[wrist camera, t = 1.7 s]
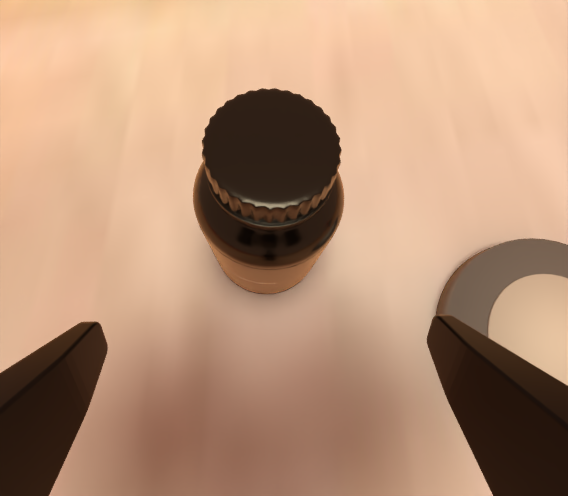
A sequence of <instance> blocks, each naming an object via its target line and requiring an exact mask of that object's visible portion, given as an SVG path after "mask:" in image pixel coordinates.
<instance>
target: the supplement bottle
mask: <svg viewBox="0 0 568 496" xmlns="http://www.w3.org/2000/svg"><path fill="white" fill-rule="evenodd" d="M339 142H340V138H339V136H338V135H337V133H336V127H335V126H334V125H333V124H332V123H331V120H330V117H329V116H328V115H326V114H325V113H324V112H323V110H322V108H321V107H319V106H316V105H315V104H314V103H313V102H312V101H311V100H309V99H305V98H304V97H303V96H301V95H300V94H293V93H291V92H290V91H286V90H285V91H281V90H278V89H275V88H274V89H270V90H268V89H263V88H262V89H259V90H257V91H248V92H247V93H245V94H240V95H237V96H236V97H235V98H234V99H232V100H229V101H227V102H226V103H225V104H224V106H222V107H220V108H218V109H217V111H216V114H215V115H214V116H212V117H211V118H210V121H209V125H208V126H207V127H206V128H205V137H204V138H203V140H202V146H203V151H202V158H203V162H202V164H201V166H200V168H199V170H198V173H197V175H196V179H195V183H194V189H193V204H194V210H195V214H196V218H197V220H198V223H199V226H200V228H201V230H202V232H203V234H204V236H205V238H206V239H207V241H208V243H209V245H210V247H211V249H212V251H213V253H214V255H215V256H216V258H217V260H218V262H219V264H220V266H221V267H222V269H223V271H224V272H225V273H226V275H227V276H228V277H229V278H230V279H231V280H232V281H233V282H234V283H236V284H237V285H239V286H240V287H242V288H244V289H246V290H248V291H251V292H255V293H261V294H272V293H278V292H282V291H285V290H287V289H289V288H291V287H293V286H294V285H296V284H297V283H299V282H300V281H301V280H302V279H303V278H304V277H305V276H306V275H307V273H308V272H309V271H310V269H311V268H312V267H313V265H314V264H315V262H316V261H317V259H318V258H319V256H320V255H321V253H322V252H323V250H324V249H325V248H326V246H327V245H328V243H329V242H330V240H331V238H332V237H333V235H334V234H335V232H336V230H337V228H338V225H339V223H340V220H341V217H342V213H343V208H344V189H343V184H342V181H341V177H340V174H339V172H338V169H339V166H340V162H341V161H340V155H341V147H340V145H339Z"/></svg>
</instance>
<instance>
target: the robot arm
mask: <svg viewBox="0 0 568 496" xmlns="http://www.w3.org/2000/svg"><path fill="white" fill-rule="evenodd" d="M427 344H428V348H429V351H430V353H431V356H432V359H433V362H434V364H435V367H436V370H437V373H438V376H439V378H440V381H441V384H442V387H443V390H444V392H445V395H446V397H447V399H448V402H449V404H450V406H451V408H452V410H453V412H454V415H455V417H456V419H457V421H458V423H459V425H460V427H461V429H462V431H463V433H464V435H465V438H466V440H467V442H468V444H469V446H470V448H471V450H472V452H473V454H474V456H475V459H476V461H477V463H478V465H479V467H480V469H481V471H482V473H483V475H484V477H485V479H486V482H487V484H488V486H489V488H490V490H491V492H492V494H493V496H568V385H566V384H564V383H563V382H561V381H559V380H558V379H556V378H554V377H553V376H551V375H549V374H548V373H546V372H544V371H543V370H541V369H539V368H538V367H536V366H534V365H533V364H531V363H529V362H528V361H526V360H525V359H523V358H521V357H520V356H518V355H516V354H515V353H513V352H511V351H510V350H508V349H506V348H505V347H503V346H501V345H500V344H498V343H496V342H495V341H493V340H491V339H490V338H488V337H486V336H485V335H483V334H482V333H480V332H478V331H477V330H475V329H473V328H472V327H470V326H468V325H467V324H465V323H463V322H462V321H460V320H458V319H457V318H455V317H453V316H452V315H436V316H435V317H434V318H433V320H432V323H431V326H430V329H429V333H428V336H427ZM107 349H108V347H107V342H106V339H105V336H104V333H103V330H102V327H101V325H100V323H98V322H81V323H79V324H77V325H76V326H74V327H72V328H71V329H69V330H68V331H66V332H65V333H63V334H61V335H60V336H58V337H57V338H55V339H54V340H52V341H50V342H49V343H47V344H46V345H44V346H42V347H41V348H39V349H38V350H36V351H35V352H33V353H31V354H30V355H28V356H27V357H25V358H23V359H22V360H20V361H19V362H17V363H16V364H14V365H12V366H11V367H9V368H8V369H6V370H4V371H3V372H1V373H0V496H49V494H50V492H51V490H52V488H53V485H54V483H55V481H56V479H57V477H58V474H59V472H60V470H61V468H62V466H63V463H64V461H65V459H66V457H67V455H68V452H69V450H70V448H71V446H72V444H73V441H74V439H75V437H76V435H77V433H78V430H79V428H80V426H81V424H82V422H83V419H84V417H85V415H86V412H87V410H88V407H89V405H90V402H91V399H92V396H93V393H94V390H95V387H96V384H97V381H98V378H99V375H100V372H101V369H102V366H103V363H104V360H105V357H106V354H107Z"/></svg>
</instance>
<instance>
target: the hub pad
mask: <svg viewBox="0 0 568 496" xmlns="http://www.w3.org/2000/svg"><path fill="white" fill-rule="evenodd" d="M436 315H452V316H453V317H455V318H457V319H458V320H460V321H462V322H463V323H465V324H467V325H468V326H470V327H472V328H473V329H475V330H477V331H478V332H480V333H482V334H483V335H485V336H486V337H488V338H490V339H491V340H493V341H495V342H496V343H498V344H500V345H501V346H503V347H505V348H506V349H508V350H510V351H511V352H513V353H515V354H516V355H518V356H520V357H521V358H523V359H525V360H526V361H528V362H529V363H531V364H533V365H534V366H536V367H538V368H539V369H541V370H543V371H544V372H546V373H548V374H549V375H551V376H553V377H554V378H556V379H558V380H559V381H561V382H563V383H564V384H566V385H568V245H566V244H563V243H560V242H556V241H551V240H545V239H518V240H513V241H509V242H505V243H502V244H499V245H497V246H494V247H492V248H489V249H487V250H485V251H482V252H480V253H478V254H477V255H475V256H473V257H471V258H470V259H468V260H467V261H466V262H465V263H463V264H462V265H461V266H460V267H459V268H458V269H457V270H456V271H455V272H454V273H453V275H452V276H451V278H450V279H449V281H448V282H447V284H446V286H445V288H444V290H443V292H442V294H441V297H440V300H439V304H438V307H437V313H436Z"/></svg>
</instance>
